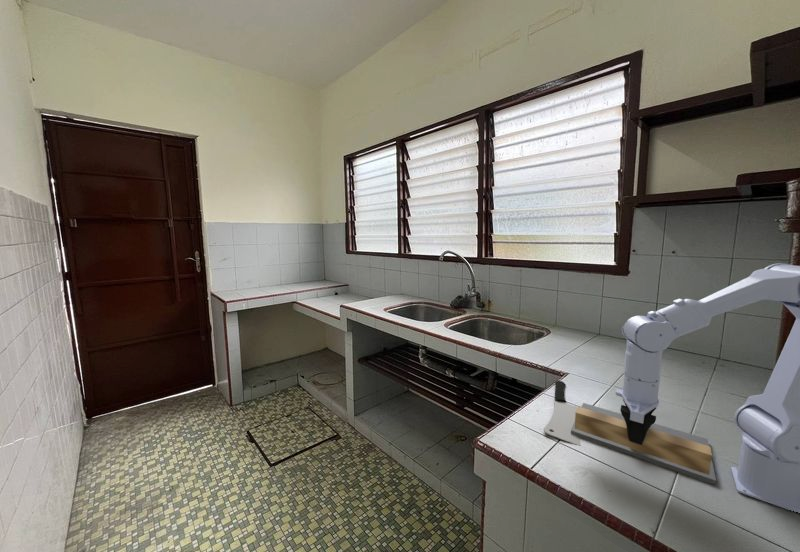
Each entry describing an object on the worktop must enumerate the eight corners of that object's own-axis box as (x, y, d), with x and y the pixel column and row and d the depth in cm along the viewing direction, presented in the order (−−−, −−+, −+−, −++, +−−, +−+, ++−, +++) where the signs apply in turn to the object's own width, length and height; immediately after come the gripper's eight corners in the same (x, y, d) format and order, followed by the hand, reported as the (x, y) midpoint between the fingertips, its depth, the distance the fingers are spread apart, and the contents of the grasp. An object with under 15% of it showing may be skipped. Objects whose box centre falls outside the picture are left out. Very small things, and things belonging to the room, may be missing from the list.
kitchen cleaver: (589, 446, 74) (543, 429, 78) (588, 452, 74) (542, 435, 79) (585, 387, 101) (551, 378, 105) (584, 392, 101) (550, 382, 106)
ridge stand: (707, 442, 75) (709, 425, 74) (715, 485, 63) (718, 464, 62) (583, 405, 91) (583, 391, 91) (570, 433, 79) (571, 417, 78)
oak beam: (707, 465, 60) (710, 446, 59) (709, 475, 57) (711, 455, 57) (577, 422, 74) (578, 406, 73) (574, 428, 71) (575, 412, 71)
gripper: (621, 359, 71) (616, 414, 73) (613, 384, 60) (608, 448, 62) (661, 367, 67) (655, 425, 69) (660, 395, 56) (654, 464, 58)
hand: (636, 437), depth 65 cm, fingers closed on oak beam, 3 cm apart
